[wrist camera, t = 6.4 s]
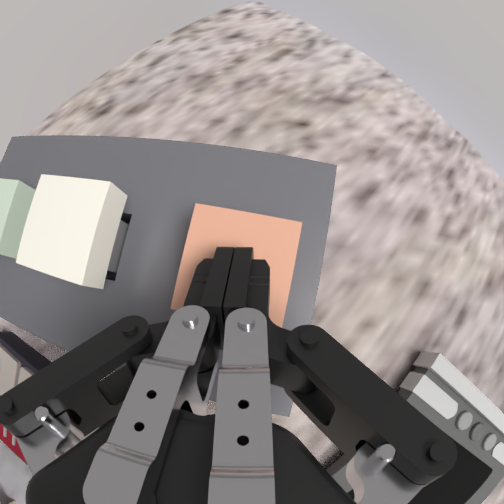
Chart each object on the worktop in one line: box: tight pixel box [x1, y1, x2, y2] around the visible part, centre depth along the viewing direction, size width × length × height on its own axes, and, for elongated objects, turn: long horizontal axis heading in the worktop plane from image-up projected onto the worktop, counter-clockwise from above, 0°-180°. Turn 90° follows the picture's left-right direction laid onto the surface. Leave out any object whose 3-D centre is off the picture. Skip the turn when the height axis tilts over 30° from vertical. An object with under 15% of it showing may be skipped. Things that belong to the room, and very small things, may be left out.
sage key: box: [0, 178, 36, 259], centre depth 19 cm, size 5×5×6 cm
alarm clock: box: [326, 352, 504, 504], centre depth 18 cm, size 17×5×16 cm
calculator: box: [0, 332, 118, 465], centre depth 21 cm, size 11×4×15 cm
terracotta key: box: [170, 203, 302, 328], centre depth 17 cm, size 5×5×6 cm
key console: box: [0, 136, 337, 417], centre depth 21 cm, size 26×14×7 cm, turn 78°
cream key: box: [16, 174, 129, 289], centre depth 16 cm, size 5×5×6 cm
